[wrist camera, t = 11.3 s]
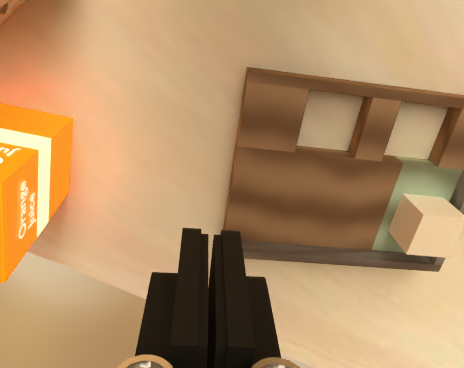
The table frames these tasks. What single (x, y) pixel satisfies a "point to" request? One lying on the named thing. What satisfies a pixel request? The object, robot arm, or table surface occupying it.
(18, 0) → the decorative jar
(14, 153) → the orange juice
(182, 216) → the table surface
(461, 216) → the block
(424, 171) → the board
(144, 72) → the table surface
